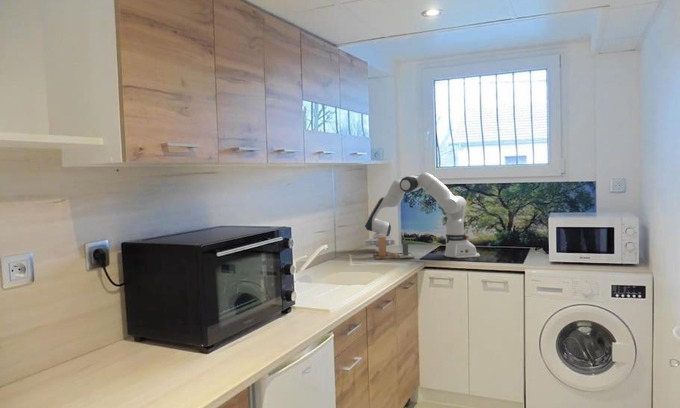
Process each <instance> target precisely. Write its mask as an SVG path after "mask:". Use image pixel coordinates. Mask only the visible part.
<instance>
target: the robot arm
mask: <svg viewBox="0 0 680 408" xmlns="http://www.w3.org/2000/svg"><path fill="white" fill-rule="evenodd" d="M421 189H423V190H424V192H426V193H428V195H430V196H431V197H432V198H433V199H434V200H435V201H436V202H437V203H438V204H439V206H440V207H441V208H442V210H443V211H444V212H445V213H447V214H448V215H447V220H446V222H445V225H446V228H445V230H446V234H445V251H444V256H445V257H448V258H456V259H461V258H463V259H465V258H479V257H480V256H481V255H480V253H479V252H477V248H476V246H475V245H474V244H473V243H471V242H470V241H469V240H468V239H469V238H470V237H469V235H467V234H465V226H464V223H465V216H466V215H465V214H466V208H467V200H466V199H465V198H464V197H463V196H461V195H454V194H453V193H452V192H451V190H449V187H447V186H446V185H445V184H444V183H443V182H442V181H440V180H439V179H438V178H437V177H435V176H434V175H433V174H431V173H429V172H427V171H424V172H422V173H420V174H419V175H418V174H417V175H416V174H414V175H413V174H412V175H407V176H405V177H402V179H395V180H393V181H392V183H391V185H390V187H389V189H388V192H387V193H386V194H385V196H383V197H381V198H379V200H378V201H377V203H376V205H375V206H374V208H373V209H372V211H371V213H370V215H369V216H368V218H367V219H365V222H364V228H365V229H366V230H367V231H370V232H374V234H373V235H372V238H367V239H365V240H364V243H365V246H368V247H369V246H375V247H377V248H379V246H378V236H385V237H386V247H387V246H395V245H396V238H395V237H393V236H392V235H390V233H391V231H392V227H391V222H388V221H386V220H382V219H379V218H377V216H378V214H379V213H380V212H381V209H384V208H395V207H398V206H400V204H401V202H402V201H403V199H404V196H405V193H412V192H417V191H420V190H421Z"/></svg>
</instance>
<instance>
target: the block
mask: <svg viewBox="0 0 680 408" xmlns="http://www.w3.org/2000/svg"><path fill="white" fill-rule="evenodd" d="M378 246H379V247H378V253H379V256H386V253H387V246H386V237H385V236H378Z"/></svg>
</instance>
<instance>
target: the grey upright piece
mask: <svg viewBox="0 0 680 408" xmlns="http://www.w3.org/2000/svg"><path fill="white" fill-rule="evenodd" d="M402 253H403V254H399V257H400V258H406V257H414V255H413V254H412V253H411V254H412V255H413V256H412V255H411V254H408V253H409V242H407V241H406V242H405V241H404V242H403V241H402Z"/></svg>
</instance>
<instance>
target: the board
mask: <svg viewBox="0 0 680 408" xmlns="http://www.w3.org/2000/svg"><path fill="white" fill-rule="evenodd" d="M399 254H403V252H386V256H379V252H378V253H373V256H374V258H375V261H385V260H386V261H387V260H388V261H389V260H390V261H391V260H415V257H414V255H413V254H412V253H411V252H409V251H408V254H411V255H412V256H413V257H406V258H400V257H399Z"/></svg>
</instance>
